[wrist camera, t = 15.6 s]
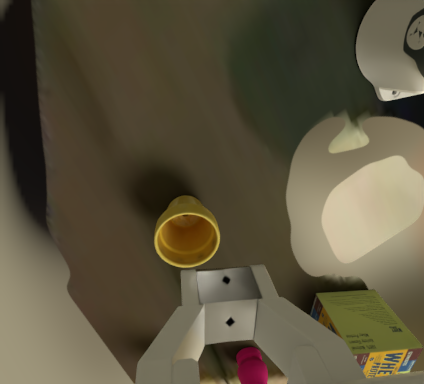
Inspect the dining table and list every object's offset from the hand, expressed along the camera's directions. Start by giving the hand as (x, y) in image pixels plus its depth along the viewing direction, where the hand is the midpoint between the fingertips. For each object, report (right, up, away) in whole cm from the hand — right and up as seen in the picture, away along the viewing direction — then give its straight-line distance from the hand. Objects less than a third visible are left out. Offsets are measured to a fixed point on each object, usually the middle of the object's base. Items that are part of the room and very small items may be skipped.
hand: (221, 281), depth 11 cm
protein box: (+31, -25, +60) cm, 72 cm away
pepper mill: (+9, -38, +64) cm, 75 cm away
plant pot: (-5, 0, +43) cm, 44 cm away
